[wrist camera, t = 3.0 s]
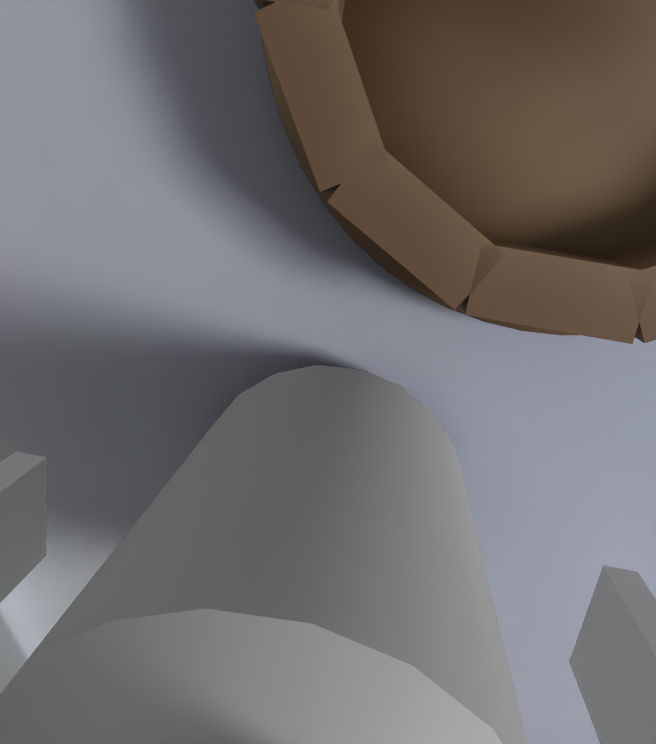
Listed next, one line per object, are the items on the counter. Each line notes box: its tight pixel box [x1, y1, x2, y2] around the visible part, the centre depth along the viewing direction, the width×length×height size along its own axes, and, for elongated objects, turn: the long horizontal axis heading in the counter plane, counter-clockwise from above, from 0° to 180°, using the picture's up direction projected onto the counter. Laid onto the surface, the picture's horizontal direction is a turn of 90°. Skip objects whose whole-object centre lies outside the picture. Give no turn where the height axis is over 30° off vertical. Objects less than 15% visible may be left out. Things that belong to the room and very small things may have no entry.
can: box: [0, 365, 527, 744], centre depth 11 cm, size 8×8×12 cm
